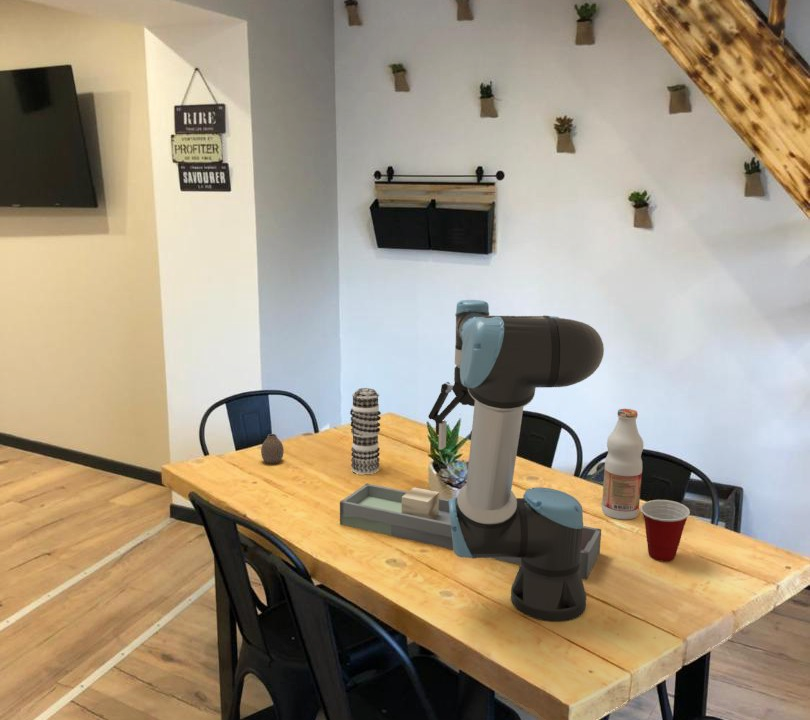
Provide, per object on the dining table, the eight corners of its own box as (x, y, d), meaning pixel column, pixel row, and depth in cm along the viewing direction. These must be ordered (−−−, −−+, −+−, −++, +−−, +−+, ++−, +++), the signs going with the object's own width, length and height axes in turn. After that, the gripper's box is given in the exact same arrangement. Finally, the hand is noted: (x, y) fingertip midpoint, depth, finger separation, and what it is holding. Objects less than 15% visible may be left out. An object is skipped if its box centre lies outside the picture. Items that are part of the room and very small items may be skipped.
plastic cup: (626, 549, 177) (630, 502, 175) (663, 543, 181) (668, 496, 178) (656, 570, 167) (661, 520, 165) (695, 563, 171) (700, 513, 169)
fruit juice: (594, 509, 200) (601, 408, 194) (621, 503, 204) (628, 404, 198) (618, 522, 192) (626, 417, 186) (646, 516, 196) (655, 413, 190)
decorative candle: (346, 473, 224) (345, 392, 219) (355, 463, 233) (355, 385, 227) (375, 476, 222) (375, 395, 217) (383, 466, 231) (384, 387, 225)
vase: (260, 459, 235) (259, 432, 234) (282, 457, 238) (281, 430, 236) (262, 466, 229) (262, 439, 227) (285, 464, 231) (284, 437, 229)
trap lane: (586, 579, 163) (588, 554, 162) (339, 524, 189) (339, 501, 188) (599, 553, 175) (601, 529, 174) (366, 504, 201) (366, 483, 200)
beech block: (427, 525, 182) (427, 502, 181) (401, 519, 185) (401, 496, 184) (438, 514, 188) (439, 492, 187) (413, 509, 191) (413, 487, 190)
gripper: (526, 369, 173) (522, 456, 178) (429, 357, 185) (427, 440, 189) (516, 375, 167) (512, 465, 171) (415, 363, 178) (414, 448, 182)
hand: (467, 452), depth 180 cm, fingers open, 13 cm apart
